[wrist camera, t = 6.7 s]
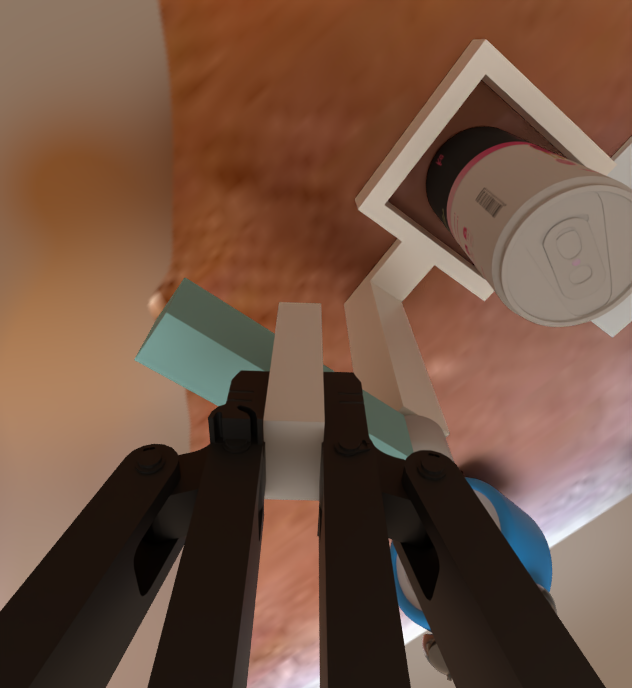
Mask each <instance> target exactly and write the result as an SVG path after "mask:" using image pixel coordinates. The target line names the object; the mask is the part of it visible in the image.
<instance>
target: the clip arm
mask: <svg viewBox="0 0 632 688" xmlns="http://www.w3.org/2000/svg"><path fill="white" fill-rule="evenodd" d="M274 337H275V334H274V333H272V332H271V331H269V330H268V329H266V328H265V327H263V326H261V325H260V324H258V323H257V322H255V321H253V320H252V319H250V318H249V317H247V316H245V315H244V314H242V313H241V312H239V311H238V310H236V309H234V308H233V307H231V306H230V305H228V304H226V303H225V302H223V301H222V300H220V299H219V298H217V297H215V296H214V295H212V294H211V293H209V292H207V291H206V290H204V289H203V288H201V287H200V286H198V285H196V284H195V283H193V282H192V281H190V280H188V279H187V278H184V279H183V281H182V282H181V284H180V285H179V287H178V288H177V290H176V291H175V293H174V294H173V296H172V297H171V299H170V300H169V302H168V303H167V305H166V306H165V308H164V309H163V311H162V312H161V314H160V315H159V317H158V318H157V320H156V321H155V323H154V325H153V327H152V328H151V330H150V332H149V334H148V336H147V338H146V340H145V341H144V343H143V345H142V347H141V348H140V350H139V352H138V354H137V356H136V358H135V361H137V362H139V363H141V364H143V365H145V366H146V367H148V368H150V369H152V370H154V371H156V372H157V373H159V374H161V375H163V376H165V377H166V378H168V379H170V380H172V381H174V382H175V383H177V384H179V385H181V386H183V387H185V388H186V389H188V390H190V391H192V392H194V393H195V394H197V395H199V396H201V397H203V398H205V399H206V400H208V401H210V402H212V403H214V404H216V405H217V406H221V405H224V404H226V401H227V397H228V393H229V389H230V385H231V380H232V379H233V378H234V377H235V376H236V375H237V374H238V373H239V372H240V371H241V370H248V371H270V367H271V360H272V352H273V345H274ZM323 372H334V371H333V370H331V369H330V368H328V367H326V366H325V365H323ZM362 391H363V398H364V405H365V412H366V419H367V426H368V433H369V437H370V439H371V440H372V442H373V444H374V446H375V447H376V448H378V449H379V450H380V451H382V452H384V453H385V454H388V455H390V456H393V457H397V458H400V459H404V460H406V458H407V457H408V456H409V455H410V454H411V453H413V452H416V451H419V450H432V451H435V452H439V453H442V454H444V455H445V456H447V457H449V458H450V459H451V460H452V461H453V458H452V455H451V452H450V449H449V447H448V444H447V441H446V438H445V435H444V432H443V430H442V429H441V427H440V426H439V425H438V424H437V423H436V422H435V421H433V420H431V419H429V418H427V417H424V416H419V415H402V414H401V413H399V412H398V411H396V410H395V409H393V408H391V407H390V406H388V405H387V404H385V403H383V402H382V401H380V400H379V399H377V398H376V397H374V396H372V395H371V394H369V393H368V392H366V391H364V390H363V389H362ZM453 462H454V461H453Z"/></svg>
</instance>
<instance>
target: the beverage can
mask: <svg viewBox="0 0 632 688" xmlns="http://www.w3.org/2000/svg"><path fill="white" fill-rule="evenodd" d="M426 190H427V197H428V200H429V203H430V205H431V207H432V209H433V211H434V212H435V213H436V215H437V216H438V217H439V219H440V220H441V221H442V223H443V224H444V225H445V227H446V228H447V229H448V231H449V232H450V233H451V234H452V236H453V237H454V238H455V240H456V241H457V242H458V244H459V245H460V246H461V248H462V249H463V250H464V252H465V253H466V254H467V256H468V257H469V258H470V260H471V261H472V262H473V263H474V265H475V266H476V267H477V269H478V270H479V271H480V273H481V274H482V275H483V277H484V278H485V279H486V281H487V282H488V283H489V285H490V286H491V287H492V288H493V290H494V291H495V292H496V294H497V295H498V296H499V298H500V299H501V300H502V302H503V303H504V304H505V305H506V306H507V307H508V308H509V309H510V310H512V311H513V312H514V313H516V314H518V315H519V316H522V317H524V318H525V319H527V320H529V321H531V322H533V323H536V324H539V325H543V326H550V327H567V326H574V325H578V324H582V323H585V322H588V321H591V320H593V319H596V318H598V317H600V316H602V315H604V314H606V313H607V312H609V311H611V310H612V309H614V308H615V307H616V306H618V305H619V304H620V303H621V302H623V301H624V300H625V299H626V298H627V297H628V296H629V295H630V294H631V293H632V189H631V188H629V187H628V186H627V185H625V184H623V183H621V182H619V181H617V180H615V179H612V178H610V177H608V176H606V175H603V174H601V173H599V172H596V171H594V170H592V169H590V168H587V167H585V166H583V165H580V164H578V163H576V162H574V161H571V160H569V159H567V158H564V157H562V156H560V155H558V154H555V153H553V152H551V151H548V150H546V149H544V148H542V147H539V146H537V145H535V144H533V143H530V142H528V141H526V140H523V139H521V138H519V137H517V136H514V135H512V134H510V133H507V132H505V131H503V130H501V129H498V128H494V127H475V128H471V129H468V130H465V131H463V132H461V133H459V134H457V135H455V136H454V137H452V138H451V139H450V140H448V141H447V142H446V143H445V144H444V145H443V146H442V147H441V149H440V150H439V151H438V152H437V154H436V155H435V157H434V159H433V161H432V163H431V165H430V168H429V171H428V175H427V182H426Z"/></svg>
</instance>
